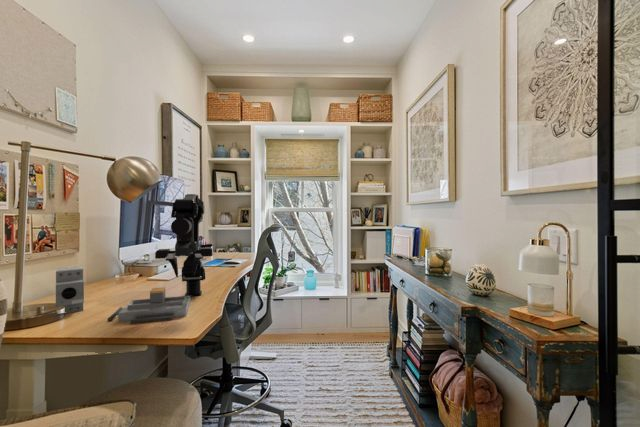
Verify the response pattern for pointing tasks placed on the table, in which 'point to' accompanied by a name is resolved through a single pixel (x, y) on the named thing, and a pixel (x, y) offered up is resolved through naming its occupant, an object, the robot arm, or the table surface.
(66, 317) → the table surface
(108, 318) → the dark grey rod
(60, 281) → the circuit breaker
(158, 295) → the toggle
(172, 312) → the panel
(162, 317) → the charcoal thin cylinder
